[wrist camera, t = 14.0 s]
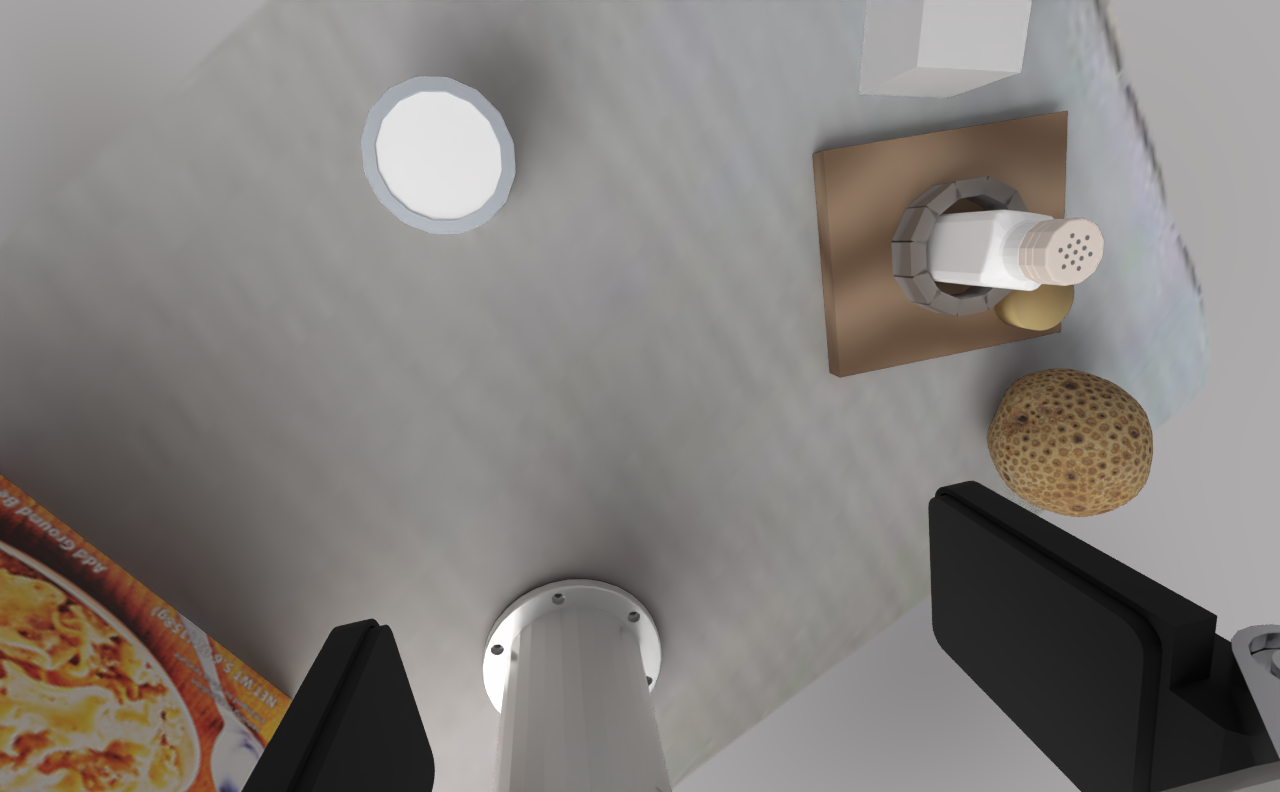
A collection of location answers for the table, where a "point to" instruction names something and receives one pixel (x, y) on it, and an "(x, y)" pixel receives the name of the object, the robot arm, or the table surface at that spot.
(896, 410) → the table surface
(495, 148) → the shot glass
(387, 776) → the robot arm
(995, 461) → the natural sponge
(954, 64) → the white cube
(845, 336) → the carrier board
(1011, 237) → the salt shaker
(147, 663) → the pasta box
